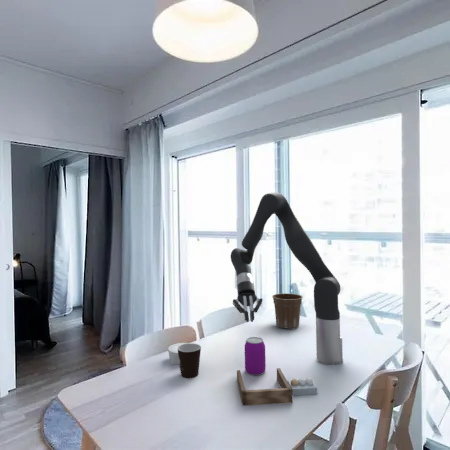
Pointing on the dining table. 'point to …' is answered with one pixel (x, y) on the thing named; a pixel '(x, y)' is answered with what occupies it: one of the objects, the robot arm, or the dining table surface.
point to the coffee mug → (189, 359)
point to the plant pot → (287, 310)
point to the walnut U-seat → (265, 392)
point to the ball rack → (302, 386)
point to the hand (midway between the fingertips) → (250, 320)
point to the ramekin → (174, 353)
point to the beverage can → (255, 356)
